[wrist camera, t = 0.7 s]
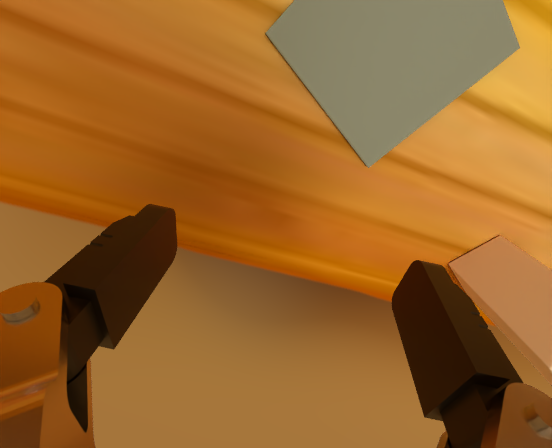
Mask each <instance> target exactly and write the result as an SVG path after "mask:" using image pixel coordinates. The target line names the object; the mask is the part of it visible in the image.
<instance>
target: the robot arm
mask: <svg viewBox="0 0 552 448" xmlns="http://www.w3.org/2000/svg"><path fill="white" fill-rule="evenodd" d="M176 251H177V234H176V217H175V211H174V210H173V209H172V208H167V207H162V206H157V205H152V204H148V205H146V206H145V207H144V208H143V209H142V210H141V211H140V212H139V213H138V214H137V215H135V216H130V215H129V216H127V217H125V218H123V219H121V220H118V221H116V222H114V223H112V224H111V225H110V226H109V227H108V228H107V229H105V231H103V232H102V233H101V235H100V236H99V235H98V236H97V237H96V238H95V239H94V240H93V241H91V244H90V245H87V246H86V247H84V248H83V249H82V250H81V251H80V252H79V253H77V255H75V256H74V257H73V258H72V259H70V261H68V262H67V263H66V264H65V265H63V266H62V267H61V268H60V269H59V270H58V271H57V272H55V273H54V274H53V275H52V276H51V277H49V278H48V279H47V280H46V281H45V282H32V283H26V284H22V285H18V286H15V287H12V288H9V289H7V290H5V291H2V292H1V293H0V448H96V447H95V442H94V434H93V410H92V380H91V361H90V357H91V356H92V354H93V353H94V352H95V350H96V349H97V347H98V346H101V347H105V348H110V349H115V347H116V346H117V344H118V343H119V341H120V340H121V338H122V337H123V335H124V334H125V332H126V331H127V329H128V328H129V326H130V325H131V323H132V322H133V320H134V319H135V317H136V316H137V314H138V313H139V311H140V310H141V308H142V307H143V305H144V304H145V303H146V301H147V300H148V298H149V297H150V295H151V294H152V292H153V290H154V289H155V288H156V286H157V285H158V283H159V282H160V280H161V279H162V277H163V276H164V274H165V273H166V271H167V270H168V268H169V267H170V265H171V264H172V262H173V260H174V258H175V255H176ZM392 310H393V313H394V317H395V320H396V323H397V326H398V330H399V333H400V337H401V340H402V344H403V347H404V350H405V354H406V357H407V360H408V364H409V367H410V370H411V374H412V377H413V380H414V384H415V387H416V391H417V394H418V397H419V400H420V404H421V407H422V410H423V414H424V417H426V418H431V419H435V420H440V421H443V422H444V425H445V428H446V431H445V432H444V433H443V434H442V435H441V437H440V439H439V442H438V445H437V448H552V398H550V397H549V396H548V395H546V394H545V393H543V392H541V391H540V390H538V389H536V388H534V387H532V386H530V385H527V384H524V383H523V382H522V380H521V378H520V377H519V375H518V374H517V372H516V370H515V369H514V368H513V366H512V364H511V362H510V361H509V359H508V358H507V356H506V354H505V353H504V351H503V350H502V348H501V346H500V345H499V343H498V342H497V340H496V338H495V337H494V335H493V334H492V332H491V330H489V329H488V326H487V324H486V322H485V321H484V319H483V318H482V316H480V315H479V314H480V313H479V311H478V310H477V308H476V306H475V305H474V303H473V302H472V300H471V298H470V297H469V296H468V295H467V294H466V293H465V292H463V291H462V290H461V289H460V288H459V287H458V286H457V285H456V284H454V283H453V281H452V280H451V278H450V276H449V275H448V273H447V271H446V270H445V268H444V267H443V266H442V265H438V264H433V263H429V262H424V261H419V260H416V261H414V262H413V263H412V264H411V265H410V267H409V268H408V270H407V272H406V273H405V275H404V276H403V278H402V280H401V281H400V283H399V285H398V286H397V288H396V290H395V291H394V294H393V297H392Z"/></svg>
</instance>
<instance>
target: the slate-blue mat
mask: <svg viewBox="0 0 552 448" xmlns="http://www.w3.org/2000/svg"><path fill="white" fill-rule="evenodd" d="M266 35H267V37H268V38H269V39H270V41H271V42H272V43H273V45H274V46H275V47H276V49H277V50H278V51H279V52H280V54H281V55H282V56H283V58H284V59H285V60H286V62H287V63H288V64H289V66H290V67H291V68H292V69H293V71H294V72H295V73H296V75H297V76H298V77H299V79H300V80H301V81H302V83H303V84H304V85H305V86H306V88H307V89H308V90H309V92H310V93H311V94H312V96H313V97H314V98H315V100H316V101H317V102H318V103H319V105H320V106H321V107H322V109H323V110H324V111H325V113H326V114H327V115H328V117H329V118H330V119H331V120H332V122H333V123H334V124H335V126H336V127H337V128H338V130H339V131H340V132H341V134H342V135H343V136H344V137H345V139H346V140H347V141H348V143H349V144H350V145H351V147H352V148H353V149H354V151H355V152H356V153H357V154H358V156H359V157H360V158H361V160H362V161H363V162H364V164H365V165H366V166H367V167H368V168H369V167H370V166H371V165H373V164H374V163H375V162H376V161H378V160H379V159H380V158H382V157H383V156H384V155H385V154H387V153H388V152H389V151H390V150H392V149H393V148H394V147H395V146H397V145H398V144H399V143H400V142H402V141H403V140H404V139H405V138H407V137H408V136H409V135H411V134H412V133H413V132H414V131H416V130H417V129H418V128H419V127H421V126H422V125H423V124H424V123H426V122H427V121H428V120H429V119H431V118H432V117H433V116H435V115H436V114H437V113H438V112H440V111H441V110H442V109H443V108H445V107H446V106H447V105H448V104H450V103H451V102H452V101H453V100H455V99H456V98H457V97H458V96H460V95H461V94H462V93H464V92H465V91H466V90H467V89H469V88H470V87H471V86H472V85H474V84H475V83H476V82H477V81H479V80H480V79H481V78H482V77H484V76H485V75H486V74H488V73H489V72H490V71H491V70H493V69H494V68H495V67H496V66H498V65H499V64H500V63H501V62H503V61H504V60H505V59H506V58H508V57H509V56H510V55H511V54H513V53H514V52H515V51H517V50H518V49H519V48H520V46H519V43H518V41H517V38H516V35H515V33H514V30H513V27H512V25H511V22H510V19H509V16H508V14H507V11H506V8H505V6H504V3H503V0H294V1H293V3H292V4H291V5H290V6H289V7H288V8H287V9H286V10H285V12H284V13H283V14H282V15H281V16H280V17H279V18H278V20H277V21H276V22H275V23H274V24H273V25H272V26H271V27H270V29H269V30H268V31H267V32H266Z"/></svg>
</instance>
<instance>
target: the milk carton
mask: <svg viewBox="0 0 552 448" xmlns="http://www.w3.org/2000/svg"><path fill="white" fill-rule="evenodd" d="M449 266H450V268H451V269H452V271H453V273H454V274H455V276H456V278H457V279H458V281H459V282H460V284H461V286H462V287H463V289H464V290H465V292H466V294H467V295H468V296H469V297H470V298H471V299H472V300H473V301H474V302H475V303H476V304H477V306H478V307H479V308H480V309H481V310H482V311H483V312H484V313H485V314H486V315H487V316H488V317H489V318H490V320H491V321H492V322H493V323H494V324H495V325H496V326H497V327H498V328H499V329H500V330H501V331H502V332H503V333H504V335H505V336H506V337H507V338H508V339H509V340H510V341H511V342H512V343H513V344H514V346H515V347H516V348H517V349H518V350H519V351H520V352H521V353H522V354H523V355H524V356H525V357H526V358H527V359H528V361H529V362H530V363H531V364H532V365H533V366H534V367H535V368H536V369H537V370H538V371H539V373H540V374H541V375H542V376H543V377H544V378H545V379H546V380H547V381H548V382H549V383H550V384H551V386H552V270H551V269H550V268H548V267H547V266H545V265H544V264H542V263H541V262H539V261H538V260H536V259H535V258H533V257H532V256H530V255H529V254H527V253H526V252H524V251H523V250H521V249H520V248H519V247H517V246H516V245H514V244H513V243H511V242H510V241H508V240H507V239H505V238H504V237H502V236H498V237H496V238H494V239H492V240H490V241H489V242H487V243H485V244H483V245H481V246H480V247H478V248H476V249H474V250H472V251H470V252H469V253H467V254H465V255H463V256H461V257H459V258H458V259H456V260H454V261H452V262H450V263H449Z"/></svg>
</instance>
